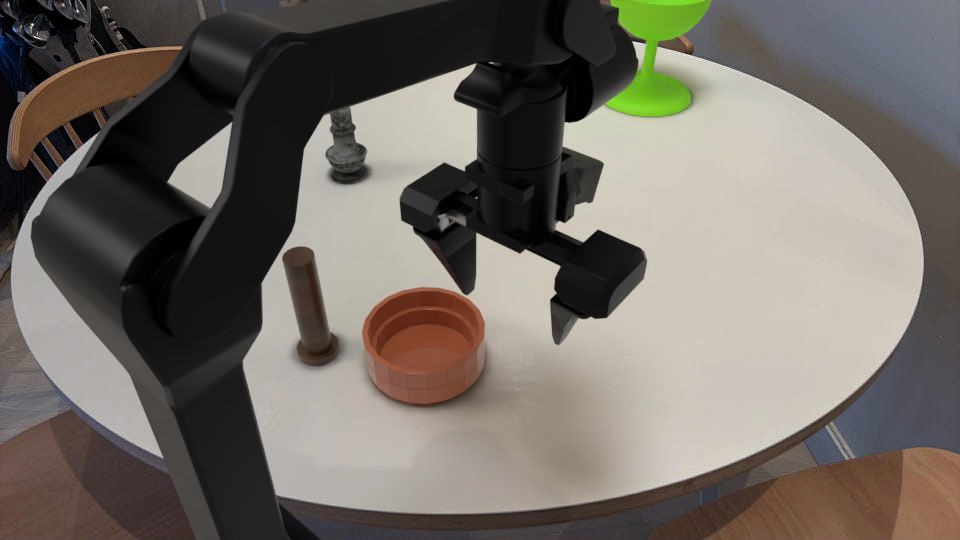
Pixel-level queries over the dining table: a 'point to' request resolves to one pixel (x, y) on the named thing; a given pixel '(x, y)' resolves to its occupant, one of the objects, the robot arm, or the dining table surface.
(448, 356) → the bowl
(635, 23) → the wineglass
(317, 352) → the brown cylinder
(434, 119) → the dining table surface
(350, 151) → the grey chess piece
